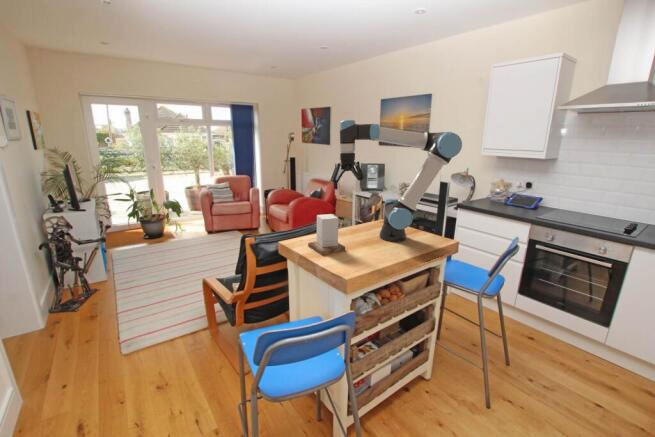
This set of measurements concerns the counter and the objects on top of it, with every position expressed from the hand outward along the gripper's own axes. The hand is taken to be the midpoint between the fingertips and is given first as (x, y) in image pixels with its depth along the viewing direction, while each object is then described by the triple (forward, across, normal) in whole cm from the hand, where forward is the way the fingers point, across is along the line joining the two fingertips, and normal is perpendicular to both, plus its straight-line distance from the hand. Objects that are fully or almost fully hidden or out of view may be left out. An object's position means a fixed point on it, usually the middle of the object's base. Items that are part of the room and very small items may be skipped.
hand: (347, 193), depth 161 cm
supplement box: (+25, +13, 0) cm, 28 cm away
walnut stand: (+27, +14, 0) cm, 31 cm away
